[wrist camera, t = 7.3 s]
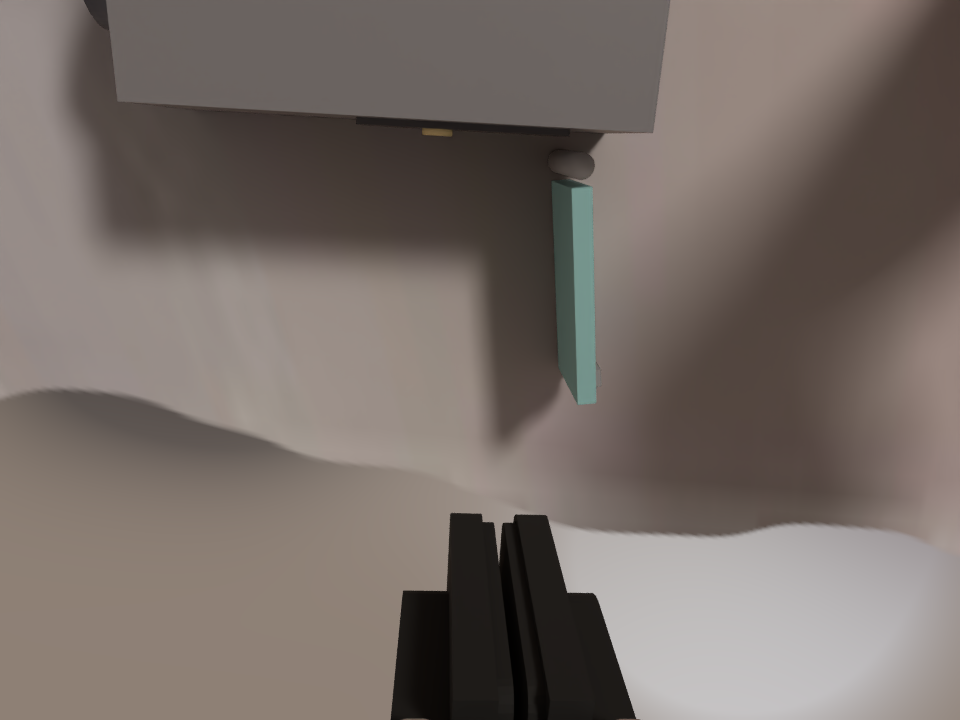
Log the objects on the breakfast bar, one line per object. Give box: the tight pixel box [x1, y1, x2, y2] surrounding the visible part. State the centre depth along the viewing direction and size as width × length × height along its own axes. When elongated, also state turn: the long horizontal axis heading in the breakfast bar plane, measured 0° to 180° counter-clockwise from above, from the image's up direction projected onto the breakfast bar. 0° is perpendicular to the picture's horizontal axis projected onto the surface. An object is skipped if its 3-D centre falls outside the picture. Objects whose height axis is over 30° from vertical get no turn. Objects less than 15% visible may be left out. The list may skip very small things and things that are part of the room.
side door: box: [548, 150, 601, 405], centre depth 29 cm, size 10×2×5 cm, turn 4°
